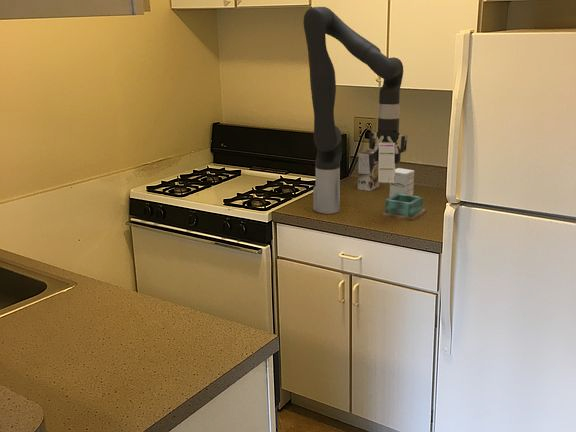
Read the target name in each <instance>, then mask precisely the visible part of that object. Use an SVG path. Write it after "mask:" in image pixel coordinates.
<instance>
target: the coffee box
mask: <svg viewBox="0 0 576 432" xmlns="http://www.w3.org/2000/svg"><path fill="white" fill-rule="evenodd" d="M357 164H358V165H357V166H358V169H357V170H358V172H357V190H360V191H367V192H371V191H374V190H375V189H377V188H379V187H380V182H378V166H379V161H378V162H376V161H375V160H374V150H372V149H366V150H363V151H361V152H359V153H358V163H357Z"/></svg>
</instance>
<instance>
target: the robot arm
mask: <svg viewBox="0 0 576 432" xmlns="http://www.w3.org/2000/svg"><path fill="white" fill-rule="evenodd" d="M302 22H303V30H304V37H305V41H306V46H307V53H308V54H307V56H308V57H307V58H308V66H309V82H310V83H309V85H310V91H311V92H310V93H311V100H312V108H313V142H314V145H315V147H316V149H317V153H316V158H315V186H313V198H312V199H313V203H312V204H313V205H312V206H313V211H315V212H317V213H319V214H327V215H328V214H336V213H339V212H340V205H341V204H340V195H341V194H340V190H341V189H340V183H341V181H340V180H341V179H340V178H341V177H340V175H341V172H340V171H341V160H342V159H341V158H342V132H341V129H340V128H339V127H338V126H336V124H335V113H334V111H335V105H336V104H335V103H336V94H337V83H336V82H337V81H336V71H335V68H334V64H333V62H332V59H331V57H330V55H329V52H328V48H327V39H326V35H327V36H330V37H332V38H334V39H336V40H337V41H338V42H340V44H341V45H343V47H344V48H345V49H346V50H347V51H348V52H349V54H351V55H352V56H353V57H355V58H356V59H357V60H358V61H360V62H361V63H363V64H365V65H366V66H368V67H369V68H370V70H371V71H372V72H373V73H375V75H377V76H378V78H379V77H380V78H381V79H383V83H382V86H381V87H380V89H379V93H378V94H379V96H378V109H377V132H375V131H371V132H369V133H368V143H369V144H368V145H369V146H368V148H369V150H374V160H375V161H376V162H378V161H379V143H380V142H390V143H395V145H394V147H395V165H397V164H399V163H400V162H401V156H402V155H401V154H402V153H405V152H406V151H407V144H408V135H407V134H404V135H403V134H400V133H399V132H400V116H401V114H400V113H401V109H400V94H401V92H400V91H401V86H402V82H403V78H404V77H403V75H404V65H403V62H402V60H400V59H399V58H398V57H388V56H387V55H385V54H383V53H382V52H381V49H380V48H379V47H378V46H377V45H375V44H374V43H372V42H371V41H370V40H368V39H366V38H365V37H363V36H362V35H360V34H359V33H357V32H356V31H355V30H353V28H351V27H350V26H348V25H347V24H346V23H345V22H344V20H342V19H341V18H340V17H338V15H337V14H336V13H335V12H334V11H333V10H331V8H329V7H327V6H313V7H310V8H308V9H307V10H306V11H305V13H304V15H303V21H302ZM376 139H378V141H377V142H376ZM398 140H399V141H400V144H399V141H398Z"/></svg>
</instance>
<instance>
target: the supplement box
mask: <svg viewBox="0 0 576 432" xmlns="http://www.w3.org/2000/svg"><path fill="white" fill-rule="evenodd" d="M414 181H415V170H413V169H408V168H402V167H397V168H395V181H394V183H389V197H388V198H390V197H392V196H393V195H395V194H397V193H398V194H404V195H411V196H414V186H415V185H414V183H415V182H414Z"/></svg>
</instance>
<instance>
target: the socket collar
mask: <svg viewBox="0 0 576 432" xmlns="http://www.w3.org/2000/svg"><path fill="white" fill-rule="evenodd" d="M389 197H390V196H389ZM389 197H388V198H386V199H385V205H384V207H385V208H384V211H382V212H381V213H380V216H381V217H387V218H393V219H399V220H405V221H411V222H414V221H416V220H417V219H418V218H420V217H421V216H423V215H424V214H426V213H427V209H426V208H423V204H424V197H423V196H417V195H413V196H411V195H404V194H398V193H397V194H395V195H393V196H392V197H390V198H389Z"/></svg>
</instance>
